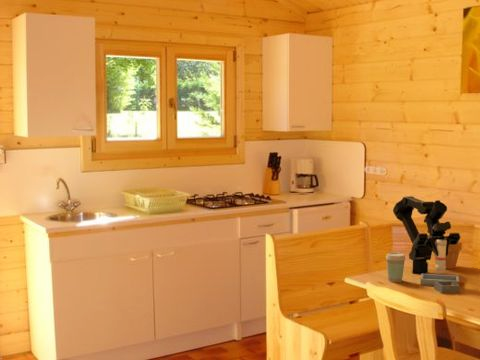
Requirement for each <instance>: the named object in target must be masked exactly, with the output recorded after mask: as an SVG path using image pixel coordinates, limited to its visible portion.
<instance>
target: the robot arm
mask: <svg viewBox="0 0 480 360" xmlns="http://www.w3.org/2000/svg"><path fill="white" fill-rule="evenodd" d="M414 209H416V210H417V212H418V213H419V214H420V215H425V217H424V220H423V223H424V224H426V227H427V230H426V232H427V233H420V232H419V230H418V228H417V226H416V224H415V222H414V221H415V220H414V219H413V217H412V215H413V211H414ZM447 211H448V207H447V205H446V204H445V203H443V202H441V200H434V201H424V200H421V199H418V198H416V197H414V196H411V195H410V196H404V197H402V199H401V200H400V201H398V202H396V203H395V205H394V207H393V209H392V212H393V215H394V217H396V219H397V220H399V221H400V222H401V223H402V224H403V227H404V229H405V231H406V233H407V235H408V237H409V239H410V241H411V243H412V244H411V245H412V246H411V250H410V252H409V253H408V258H409V260H410V261H412V270H411V271H412V272H411V274H418V275H419V274H420V275H421V274H428V272H429V262H428V261H430V260H431V259H432V254H434V253H435V254H436V256H438V251H437V248H436V245H435V241H437V239H445V240H447V245H446V256H447V255H448V247H449V245H455V244H457V243H458V241H459V240H460V239H461V234H460V233H459V232H449V234H448V235H445V234H446V232H447V231H448V230H451V228H452V225H451V221H444V222H440V220H441V219H442V218H443V217H444V215H445V214H446V212H447ZM428 234H429V235H428Z"/></svg>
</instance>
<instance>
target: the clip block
mask: <svg viewBox="0 0 480 360" xmlns="http://www.w3.org/2000/svg"><path fill="white" fill-rule="evenodd" d="M433 288H434V290H436V291H437V292H439V293H441V294H461V285H460V284H459V285H458V284H457V283H455V282H453V281H434V286H433Z"/></svg>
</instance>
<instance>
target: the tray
mask: <svg viewBox="0 0 480 360" xmlns="http://www.w3.org/2000/svg"><path fill="white" fill-rule="evenodd" d="M459 277H460V276H459V275H449V274H436V273H435V274H433V273H427V274H420V284H419V285H420V286H429V287H430V286H431V287H434V281H453V282H455V283H457V284H458V285H460V278H459Z"/></svg>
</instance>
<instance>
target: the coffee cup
mask: <svg viewBox="0 0 480 360" xmlns="http://www.w3.org/2000/svg"><path fill="white" fill-rule="evenodd" d="M385 259H386V268H387V278H388V279H387V280H388V281H389V282H391V283H402V282H403V274H404V270H405V269H404V268H405V262H406V261H405V260H406V256H405V254H404V253H400V252H388V253H386V256H385Z"/></svg>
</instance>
